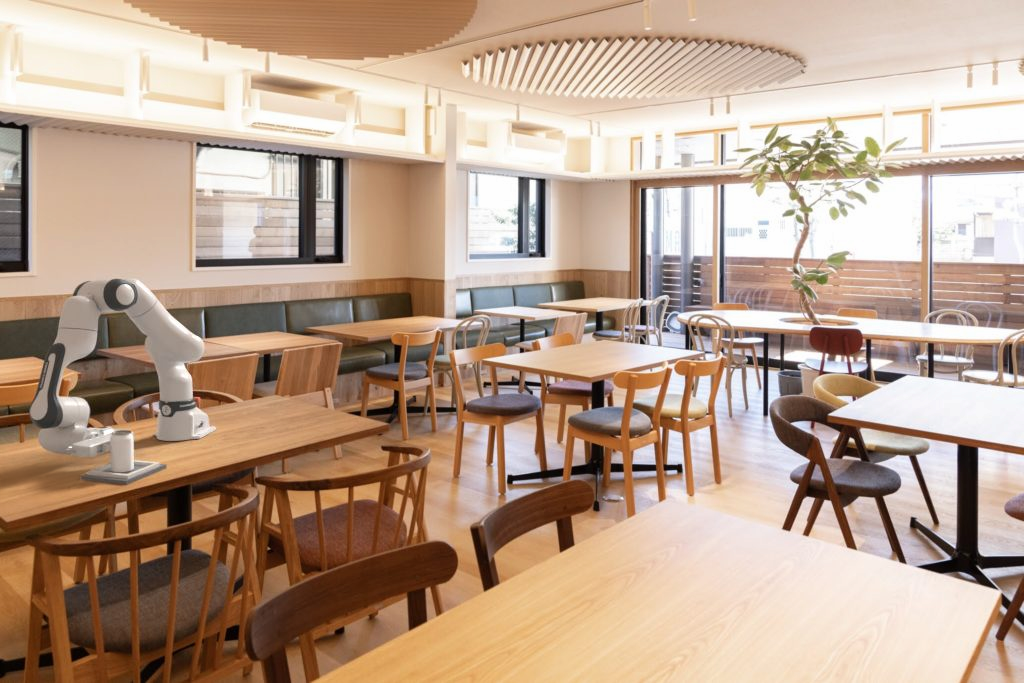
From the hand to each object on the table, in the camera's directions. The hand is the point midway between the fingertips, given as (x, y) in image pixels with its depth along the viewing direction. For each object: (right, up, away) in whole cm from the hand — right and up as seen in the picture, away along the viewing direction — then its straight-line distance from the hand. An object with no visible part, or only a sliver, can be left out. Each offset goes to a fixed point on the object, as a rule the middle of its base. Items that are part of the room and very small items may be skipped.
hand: (125, 445), depth 245 cm
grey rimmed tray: (-1, -9, +1) cm, 9 cm away
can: (-1, -8, +1) cm, 8 cm away
